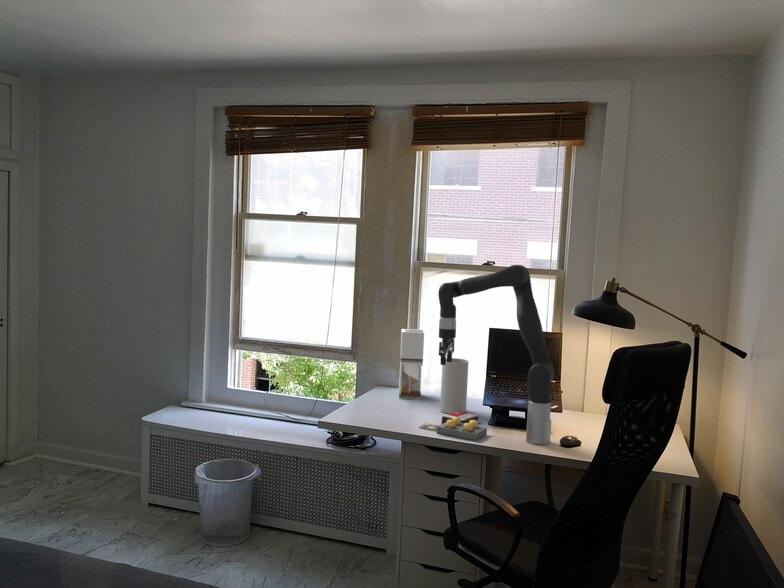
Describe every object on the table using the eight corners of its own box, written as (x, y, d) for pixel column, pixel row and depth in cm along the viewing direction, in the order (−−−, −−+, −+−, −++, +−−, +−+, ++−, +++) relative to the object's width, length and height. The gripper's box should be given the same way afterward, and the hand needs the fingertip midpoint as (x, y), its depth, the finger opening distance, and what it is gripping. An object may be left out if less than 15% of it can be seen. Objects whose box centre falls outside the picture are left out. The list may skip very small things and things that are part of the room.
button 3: (473, 430, 274) (474, 423, 274) (470, 432, 271) (470, 425, 271) (465, 429, 276) (466, 422, 276) (462, 431, 273) (462, 424, 273)
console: (486, 434, 279) (487, 427, 279) (475, 441, 269) (476, 434, 268) (448, 427, 288) (449, 420, 288) (436, 433, 278) (436, 426, 277)
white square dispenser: (399, 398, 337) (402, 331, 334) (398, 393, 347) (401, 328, 345) (421, 399, 337) (424, 332, 334) (420, 394, 348) (423, 329, 345)
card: (442, 427, 287) (442, 425, 287) (435, 431, 281) (435, 429, 281) (426, 424, 291) (426, 422, 291) (418, 427, 285) (418, 426, 285)
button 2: (461, 424, 283) (462, 417, 283) (458, 426, 280) (458, 419, 280) (454, 423, 285) (454, 416, 285) (450, 424, 282) (451, 418, 282)
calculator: (479, 414, 299) (462, 419, 287) (478, 424, 299) (462, 429, 287) (458, 410, 305) (441, 414, 293) (457, 419, 305) (440, 424, 293)
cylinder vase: (470, 414, 312) (473, 362, 310) (447, 415, 307) (449, 363, 305) (458, 407, 324) (460, 357, 322) (435, 408, 319) (438, 358, 317)
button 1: (456, 427, 278) (456, 420, 278) (452, 429, 275) (453, 422, 275) (448, 426, 280) (449, 419, 280) (445, 427, 277) (445, 420, 277)
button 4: (478, 427, 279) (479, 421, 279) (475, 429, 276) (475, 422, 276) (471, 426, 281) (471, 419, 281) (467, 428, 278) (468, 421, 278)
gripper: (450, 329, 281) (449, 366, 282) (460, 326, 294) (459, 361, 295) (434, 328, 284) (432, 365, 285) (444, 325, 297) (443, 360, 298)
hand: (446, 363), depth 290 cm, fingers open, 8 cm apart
